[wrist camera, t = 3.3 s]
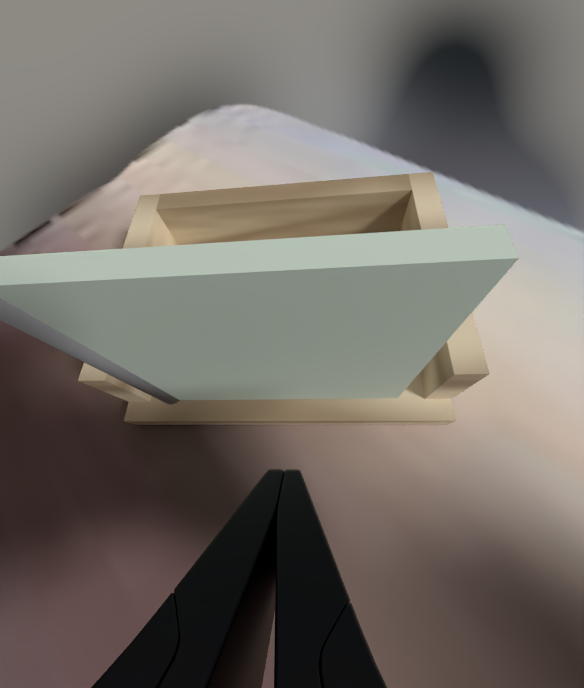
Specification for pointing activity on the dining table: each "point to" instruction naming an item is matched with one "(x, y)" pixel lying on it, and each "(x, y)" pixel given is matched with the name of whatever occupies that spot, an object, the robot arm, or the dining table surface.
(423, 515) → the dining table surface
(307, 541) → the robot arm
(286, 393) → the door
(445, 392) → the wooden tray
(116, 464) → the dining table surface
